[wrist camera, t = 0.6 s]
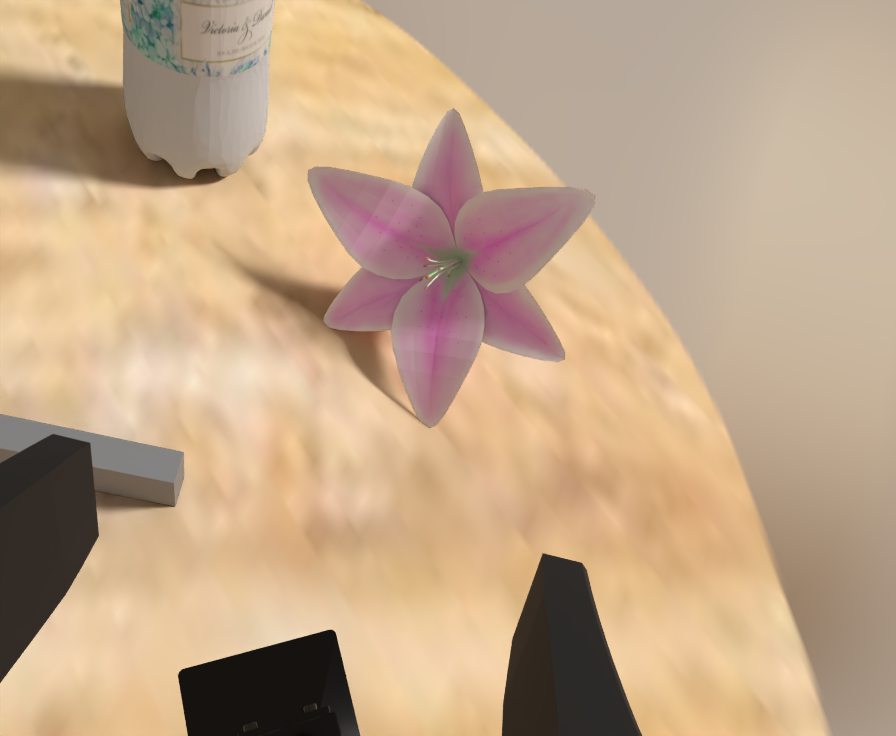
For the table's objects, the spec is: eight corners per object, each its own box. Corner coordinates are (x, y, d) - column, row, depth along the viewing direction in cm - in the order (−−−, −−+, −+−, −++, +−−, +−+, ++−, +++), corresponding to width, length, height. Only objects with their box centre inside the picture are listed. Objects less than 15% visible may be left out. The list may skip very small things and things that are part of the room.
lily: (287, 220, 39) (243, 160, 29) (507, 134, 39) (534, 47, 30) (378, 446, 39) (363, 459, 29) (598, 356, 39) (655, 340, 30)
